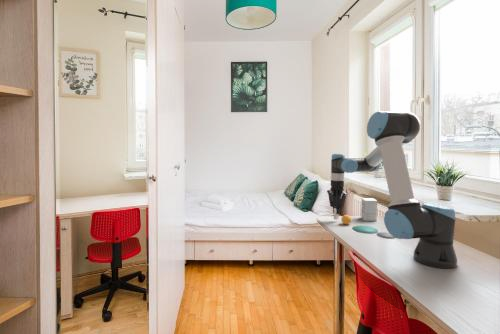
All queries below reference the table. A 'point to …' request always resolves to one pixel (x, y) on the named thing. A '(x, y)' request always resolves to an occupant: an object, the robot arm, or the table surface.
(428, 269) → the table surface
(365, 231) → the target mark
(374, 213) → the supplement box
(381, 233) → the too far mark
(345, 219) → the ball
